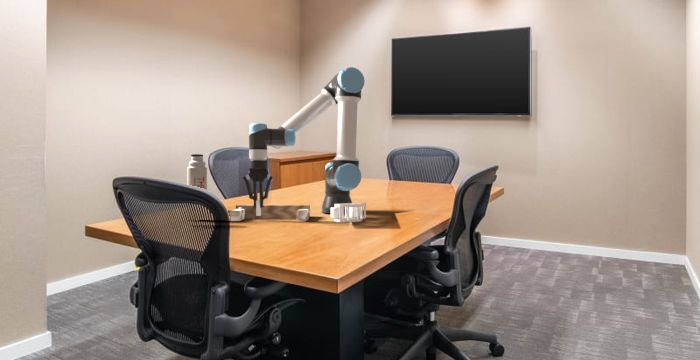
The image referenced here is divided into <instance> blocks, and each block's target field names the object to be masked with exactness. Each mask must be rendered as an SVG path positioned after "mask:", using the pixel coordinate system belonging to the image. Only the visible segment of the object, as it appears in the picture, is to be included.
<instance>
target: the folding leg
mask: <svg viewBox="0 0 700 360" xmlns="http://www.w3.org/2000/svg"><path fill="white" fill-rule="evenodd" d="M230 210H231V211H230V222H240V221H243V220H246V219H245V209H244V207H239V209H236V208H235V209H230Z"/></svg>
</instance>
